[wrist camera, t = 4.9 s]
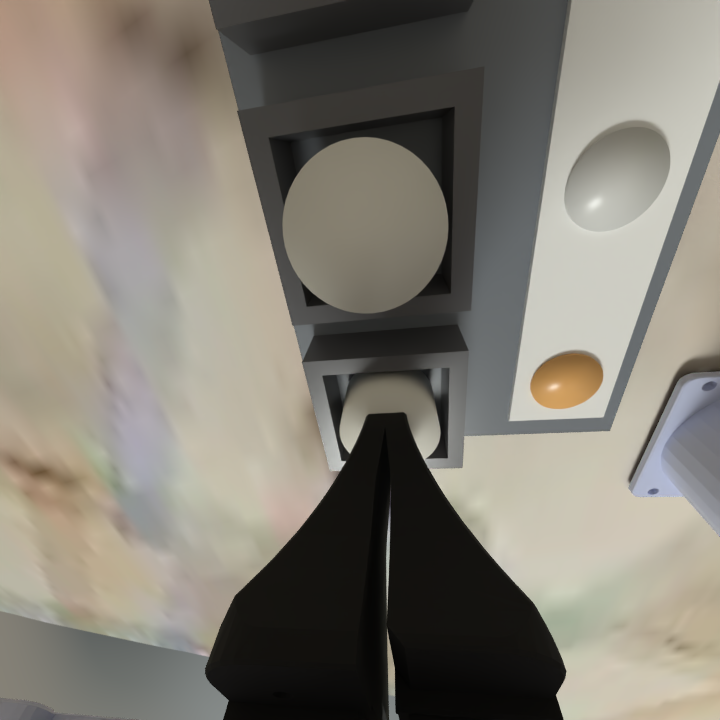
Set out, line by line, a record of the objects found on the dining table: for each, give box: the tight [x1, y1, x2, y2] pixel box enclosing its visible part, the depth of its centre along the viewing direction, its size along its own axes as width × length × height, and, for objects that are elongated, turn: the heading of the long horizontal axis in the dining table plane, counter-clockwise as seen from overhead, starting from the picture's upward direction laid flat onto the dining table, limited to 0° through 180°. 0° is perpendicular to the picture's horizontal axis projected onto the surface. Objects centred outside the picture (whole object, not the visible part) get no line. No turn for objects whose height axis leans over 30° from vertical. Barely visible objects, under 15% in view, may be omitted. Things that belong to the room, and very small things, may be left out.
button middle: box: [282, 137, 448, 314], centre depth 8 cm, size 4×4×2 cm
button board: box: [209, 0, 720, 471], centre depth 10 cm, size 13×20×4 cm, turn 7°
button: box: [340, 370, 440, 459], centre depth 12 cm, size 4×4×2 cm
